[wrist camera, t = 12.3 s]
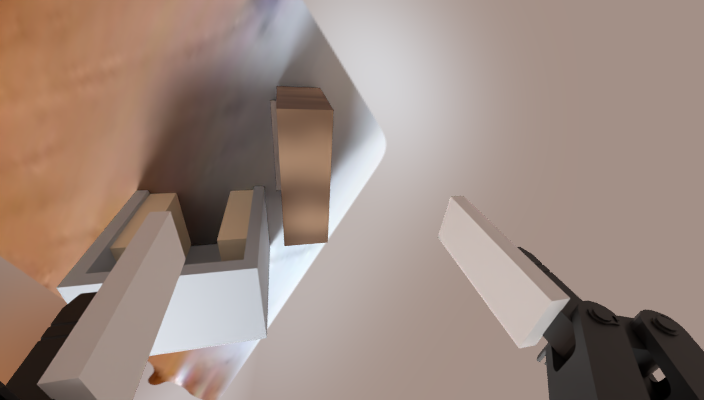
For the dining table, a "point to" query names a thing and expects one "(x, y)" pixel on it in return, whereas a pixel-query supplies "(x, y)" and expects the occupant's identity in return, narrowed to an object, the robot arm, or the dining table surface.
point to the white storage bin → (194, 271)
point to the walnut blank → (304, 163)
